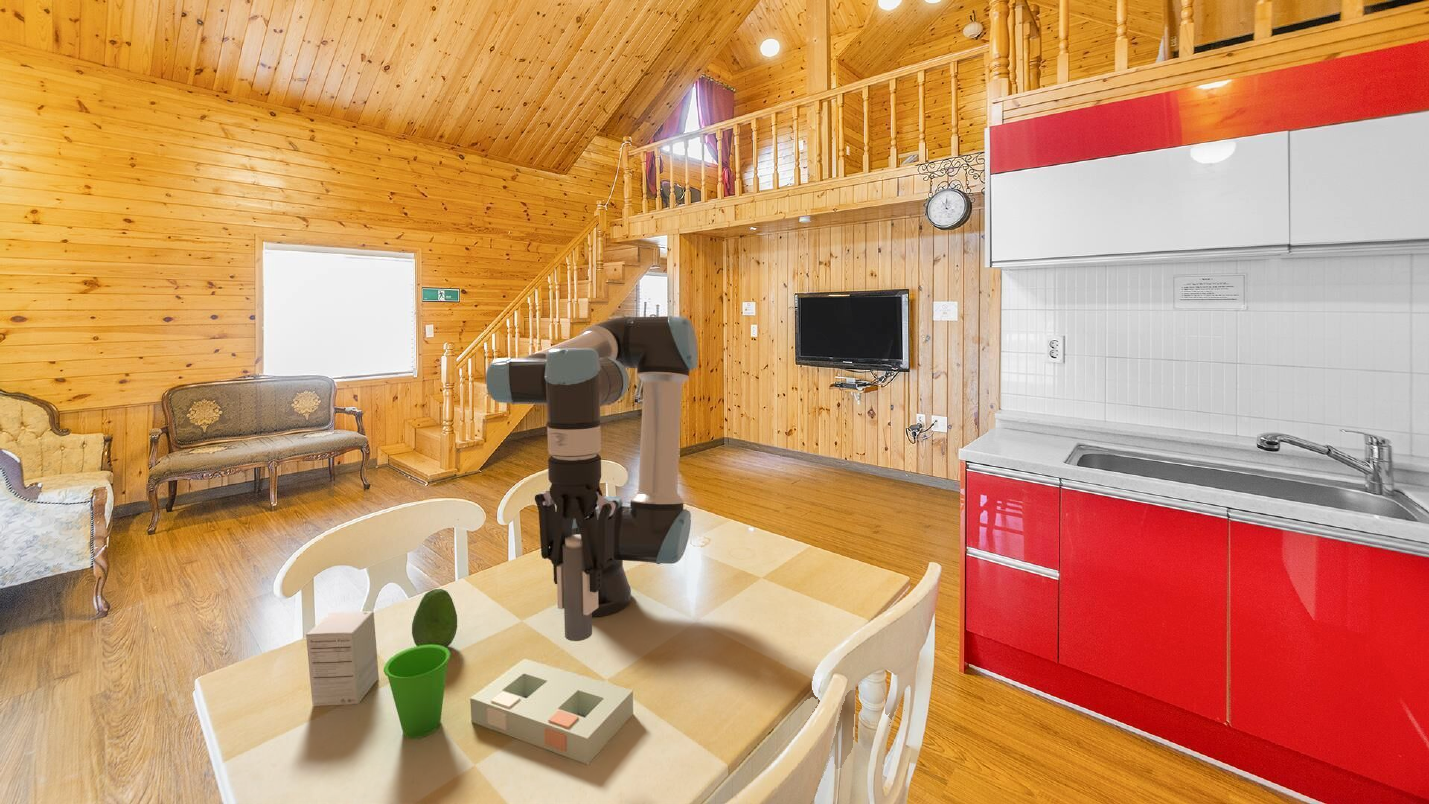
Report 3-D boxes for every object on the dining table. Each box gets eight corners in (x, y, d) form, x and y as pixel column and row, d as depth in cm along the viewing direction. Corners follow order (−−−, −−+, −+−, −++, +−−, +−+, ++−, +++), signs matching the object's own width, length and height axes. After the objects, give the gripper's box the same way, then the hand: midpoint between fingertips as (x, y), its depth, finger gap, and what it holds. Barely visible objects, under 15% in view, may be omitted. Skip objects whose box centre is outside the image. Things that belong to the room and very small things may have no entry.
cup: (433, 701, 96) (430, 638, 94) (465, 722, 91) (462, 656, 89) (376, 732, 88) (371, 664, 87) (408, 756, 83) (403, 685, 82)
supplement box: (336, 680, 101) (330, 611, 100) (380, 678, 102) (375, 610, 101) (310, 707, 94) (304, 633, 93) (358, 705, 95) (352, 632, 93)
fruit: (405, 651, 111) (401, 591, 109) (446, 634, 117) (443, 577, 115) (424, 666, 106) (420, 603, 104) (466, 648, 112) (463, 589, 110)
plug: (559, 637, 87) (556, 540, 85) (576, 625, 90) (573, 532, 89) (581, 643, 85) (579, 544, 83) (597, 630, 89) (595, 535, 87)
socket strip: (469, 723, 91) (468, 697, 90) (525, 680, 102) (524, 656, 101) (586, 766, 82) (586, 737, 81) (633, 713, 93) (632, 688, 92)
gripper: (510, 454, 85) (516, 607, 87) (609, 465, 78) (611, 631, 80) (545, 445, 91) (549, 587, 94) (638, 455, 84) (640, 608, 87)
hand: (578, 607), depth 87 cm, fingers closed on plug, 4 cm apart
